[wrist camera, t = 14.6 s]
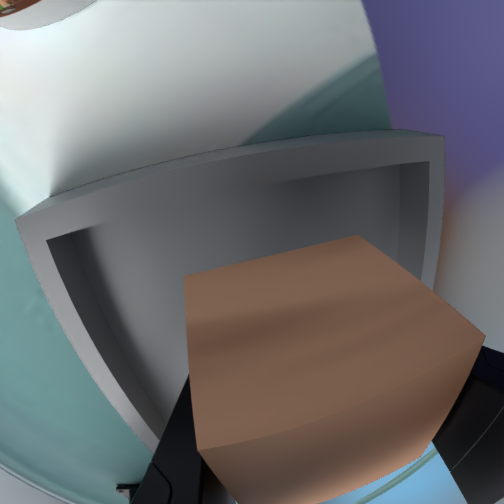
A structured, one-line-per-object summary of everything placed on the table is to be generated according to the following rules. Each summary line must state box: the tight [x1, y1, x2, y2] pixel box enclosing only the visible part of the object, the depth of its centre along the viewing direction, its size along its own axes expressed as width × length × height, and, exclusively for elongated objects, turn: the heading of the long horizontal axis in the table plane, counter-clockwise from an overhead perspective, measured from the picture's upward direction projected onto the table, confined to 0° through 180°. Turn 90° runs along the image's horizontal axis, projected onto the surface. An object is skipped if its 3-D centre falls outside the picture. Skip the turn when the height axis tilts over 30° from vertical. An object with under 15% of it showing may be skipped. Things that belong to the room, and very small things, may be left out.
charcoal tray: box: [15, 129, 445, 454], centre depth 14 cm, size 18×16×3 cm
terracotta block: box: [184, 235, 486, 504], centre depth 7 cm, size 5×5×5 cm
